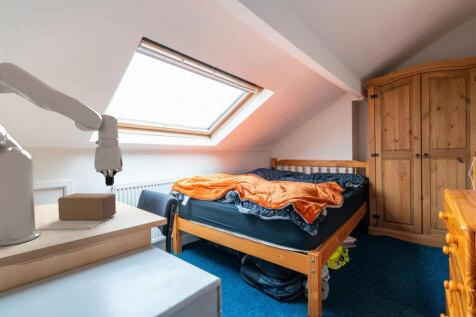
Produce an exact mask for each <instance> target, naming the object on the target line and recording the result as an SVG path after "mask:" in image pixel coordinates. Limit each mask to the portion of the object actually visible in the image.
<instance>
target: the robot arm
mask: <svg viewBox="0 0 476 317" xmlns="http://www.w3.org/2000/svg"><path fill="white" fill-rule="evenodd" d="M0 94H1V95H2V94H15V95H16V96H19V97H20V98H23V99H24V100H26V101H29V102H30V103H32V104H33V105H35V106H37V107H39V108H40V109H43V110H45V111H50V112H54V113H57V114H60V115H62V116H64V117H66V118H68V119H70V120H72V121H74V126H75V127H76V129H78V130H80V131H82V132H96V131H97V134H98V135H97V138H98V139H97V140H96V141H95V144H96V145H97V146H96V148H95V152H94V161H93V162H94V163H93V164H94V169H95V172H96V173H100V174H102V175H103V177H104V180H105V182H104V183H105V186H106V187H112V186H114V184H115V176H116V174H118V173H122V172H123V171H124V169H123V165H124V164H123V156H122V155H123V154H122V151H121V150H122V148H121V147H120V146H119V123H118V120H119V119H118V117H117V116H116V115H114V114H105V113H104V114H100V113H99V112H97V111H96V110H94V109H93V108H91V107H90V106H88V105H86V104H85V103H83V102H81V101H80V100H78V99H76V98H74V97H72V96H70V95H68V94H66V93H64V92H61V91H59V90H58V89H55V88H54V87H52V86H51V85H49V84H48V83H46V82H44V81H42V80H41V79H40V78H39V77H37V76H35V75H33V74H32V73H30V72H28V71H26V70H25V69H24V68H22V67H20V66H19V65H16V64H15V63H11V62H8V61H7V62H6V61H5V62H0ZM34 193H35V192H34V161H33V157H32V155H31V153H29V152H28V151H27V150H25V149H23V148H22V147H21V146H20V145H19V144H18V142H16V141H15V139H14V138H12V136H11V135H10V134H9V133H8V132H7V130H6V128H5V127H4V126H3V125H2V124H0V247H1V246H2V247H3V246H12V245H17V244H18V245H19V244H22V243H26V242H29V241H31V240H34V239H36V238H38V237H40V236H41V235H42V230H38V228H37V229H36V214H35V212H36V211H35V194H34Z"/></svg>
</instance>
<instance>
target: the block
mask: <svg viewBox="0 0 476 317" xmlns="http://www.w3.org/2000/svg"><path fill="white" fill-rule="evenodd" d="M57 202H58V203H57V207H58V208H57V209H58V210H57V211H58V219H59V220H105V219H106V220H108V219H109V217H110V218H111V217H113V216H115V215H116V214H117V213H116V211H117V208H116V207H117V206H116V202H117V201H116V193H85V192H84V193H82V192H80V193H70V194H67V195H63V196H60V197H59V198H58V199H57ZM107 218H108V219H107ZM106 220H105V221H106Z"/></svg>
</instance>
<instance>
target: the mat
mask: <svg viewBox="0 0 476 317" xmlns="http://www.w3.org/2000/svg"><path fill="white" fill-rule="evenodd" d="M116 214H118V211H117V210H116ZM109 218H111V217H109ZM109 218H107V219H105V220H59V218H58V219H56V220H54V221H52V222H49V223H47V224H45V225H42V226H39V227H38V228H37V229H38V230H41V231H43V230H73V229H79V230H80V229H93V228H95V227H97V226H98V225H100V224H102V223H103V222H105V221H107V220H108V219H109Z"/></svg>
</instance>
